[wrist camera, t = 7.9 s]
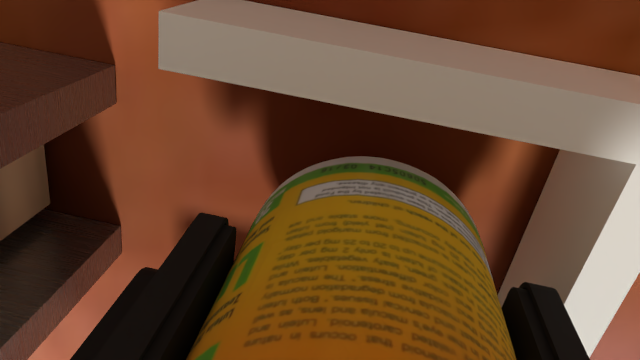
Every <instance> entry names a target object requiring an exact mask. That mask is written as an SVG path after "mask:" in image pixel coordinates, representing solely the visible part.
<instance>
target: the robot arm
mask: <svg viewBox="0 0 640 360" xmlns="http://www.w3.org/2000/svg"><path fill="white" fill-rule="evenodd" d="M235 241H236V227H232V226H228V219H227V218H224V217H219V216H215V215H210V214H205V213H199V214H198V215H197V217H196V218H195V220H194V221H193V222H192V224H191V225H190V227H189V228H188V229H187V231H186V232H185V233H184V235H183V236H182V238H181V239H180V240H179V242H178V243H177V245H176V246H175V247H174V249H173V250H172V252H171V253H170V254H169V256H168V257H167V258H166V260H165V261H164V263H163V264H162V265H161V267H160V268H159V270H157V269H152V268H148V267H145V268H143V269H141V270H140V271H139V272H138V273H137V274H136V276H135V277H134V278H133V279H132V281H131V282H130V283H129V285H128V286H127V287H126V288H125V290H124V291H123V292H122V294H121V295H120V296H119V297H118V299H117V300H116V301H115V303H114V304H113V305H112V306H111V308H110V309H109V310H108V312H107V313H106V314H105V315H104V317H103V318H102V319H101V321H100V322H99V323H98V324H97V326H96V327H95V328H94V330H93V331H92V332H91V333H90V335H89V336H88V337H87V339H86V340H85V341H84V342H83V344H82V345H81V346H80V348H79V349H78V350H77V351H76V353H75V354H74V355H73V357H72V358H71V359H70V360H186V358H187V356H188V354H189V352H190V350H191V348H192V346H193V344H194V342H195V340H196V338H197V336H198V334H199V332H200V330H201V328H202V326H203V324H204V322H205V320H206V318H207V316H208V314H209V312H210V310H211V308H212V306H213V304H214V302H215V300H216V298H217V296H218V294H219V292H220V290H221V288H222V286H223V284H224V282H225V280H226V277H227V275H228V273H229V271H230V269H231V267H232V265H233V262H234V252H235ZM501 309H502V312H503V316H504V319H505V322H506V325H507V329H508V332H509V336H510V339H511V342H512V346H513V349H514V353H515V356H516V360H590V359H589V357H588V355H587V352H586V350H585V348H584V346H583V344H582V342H581V340H580V338H579V336H578V333H577V331H576V329H575V327H574V325H573V323H572V321H571V319H570V317H569V315H568V312H567V310H566V308H565V306H564V304H563V302H562V300H561V298H560V296H559V294H558V292H557V290H556V289H554V288H551V287H547V286H542V285H537V284H533V283H528V282H524V283H522V284H521V285H520V286H519V288H517V287H512V288H511V289H510V290H509V292H508V294H507V297H506V299H505V301H504V303H503V306H502V308H501Z"/></svg>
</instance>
